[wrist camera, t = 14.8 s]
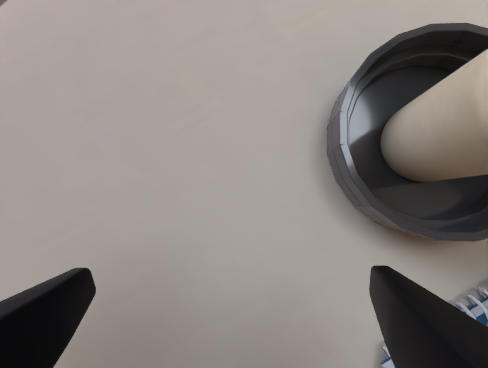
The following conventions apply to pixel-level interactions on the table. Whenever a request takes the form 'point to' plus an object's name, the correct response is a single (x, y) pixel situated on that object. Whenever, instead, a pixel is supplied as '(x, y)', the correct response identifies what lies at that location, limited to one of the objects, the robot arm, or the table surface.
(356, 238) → the table surface
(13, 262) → the table surface
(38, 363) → the robot arm
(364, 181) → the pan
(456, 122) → the candle
